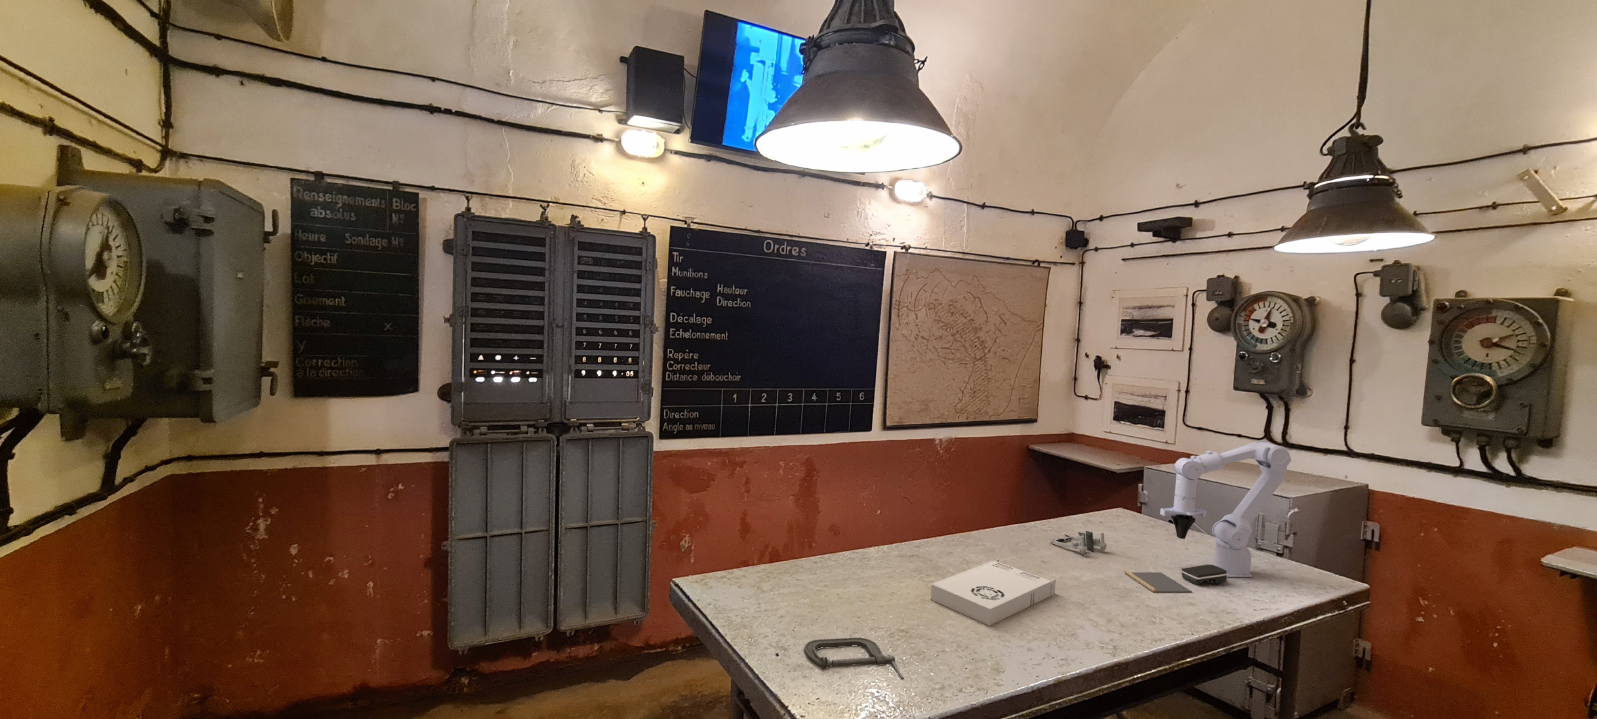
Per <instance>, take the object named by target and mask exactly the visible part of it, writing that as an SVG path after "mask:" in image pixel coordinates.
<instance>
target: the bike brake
mask: <svg viewBox="0 0 1597 719" xmlns="http://www.w3.org/2000/svg"><path fill="white" fill-rule="evenodd" d="M1064 535H1065V537H1063V538H1058V539H1056V540H1055V539H1051V540H1050V542H1049V543H1048V544H1051V545H1053V544H1055V545H1056V546H1059V547H1065V548H1070V549H1073V550H1078V551H1080V553H1081V554H1082V555H1085V554H1087V551H1088V552H1090V551H1091V552H1090V553H1094V552H1095V549H1094V546H1095V547H1099V548H1100V550H1101V551H1103V552H1104V551H1106V549H1107V547H1108V546H1107V543H1106V542H1105V533H1104V532H1100V538H1099V537H1094V534H1093V531H1089V530H1085V532H1082V531H1081V532H1079V531H1078V532H1077V535H1078V537H1077V536H1074V535H1073V536H1072V535H1071V536H1070V535H1067V534H1064ZM1068 542H1071V543H1068Z"/></svg>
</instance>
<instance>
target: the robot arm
mask: <svg viewBox="0 0 1597 719" xmlns="http://www.w3.org/2000/svg"><path fill="white" fill-rule="evenodd" d="M1249 459H1252V460H1254V461H1255V462H1256V463H1257V465H1258V466H1259V468H1260V472H1261V474H1260V476H1259V477H1258V478H1257V480H1256V481H1255V482H1254V484H1253V485H1252V487H1251V488H1250V489H1249V490H1248V491H1247V493H1246V494H1245V496H1244V497H1243V499H1242V500H1241V502H1239V504H1238V505H1237V506H1236V508H1235V509H1234V510H1233V512H1232V513H1230V514H1225V515H1224V516H1223V517H1222V518H1221V519H1220V520H1219V521H1216V522H1215V523H1214V524H1213V525H1212V529H1211V531H1212V535H1213V536H1214V537H1215V547H1214V548H1215V549H1214V559H1213V560H1214V561H1213V565H1215V566H1217V567H1220V568H1222V569H1224V570H1226V571H1227V578H1253V575H1252V574H1251V566H1252V553H1251V550H1250V549H1249V548H1248V547H1247V545H1248V543H1249V541H1250V536H1251V535H1252V534H1253V529H1252V526H1251V525H1252V523H1253V521H1254V520H1255V518H1256V517H1257V516H1258V515H1259V513H1260V512H1261V511H1262V510H1263V508H1264V507H1265V505H1267V502H1269V500H1270V499H1271V498H1272V496H1273V495H1274V493H1275V492H1276V491H1277V489H1278V488H1279V487H1280V485H1281V484H1282V483H1283V481H1284V480H1285V479H1286V474H1287V470H1288V466H1289V464H1290V463H1291V462H1292V457H1291V455H1290V452H1289V450H1288V449H1287V448H1286V447H1284V446H1283V445H1276V444H1273V443H1271V442H1267V441H1265V440H1258V441H1255V442H1254V441H1253V442H1249V443H1248V444H1245V445H1242V446H1239V447H1236V448H1233V449H1231V450H1228V451H1223V452H1221V453H1218V452H1216V451H1211V450H1206V451H1205V453H1203V454H1200V455H1191V456H1190V458H1187V457H1181V458H1179V459H1178V460H1176V462H1175V464H1174V465H1173V466H1172V467H1173V471H1174V472H1175V476H1176V477H1175V487H1174V499H1173V507H1164V508H1160V511H1159V515H1161V516H1163V517H1167V516H1170V518H1171V520H1172V522H1173V524H1174V528H1175V534H1176V537H1177V538H1179V539H1180V540H1186V537H1187V534H1188V532H1189V530H1190V528H1191V527H1192V526H1193V525H1194V523H1195V522H1196V518H1195V517H1202V518H1206V517H1207V510H1205V509H1201V508H1200V509H1199V508H1195V505H1196V497H1197V496H1196V494H1197V485H1198V483H1197V482H1198V479H1199V478H1200V477H1201V476H1202V475H1204V474H1208V473H1211V472H1215V471H1219V470H1222V469H1223V468H1224V466H1225V465H1226V464H1231V463H1236V462H1241V461H1245V460H1246V461H1247V460H1249Z"/></svg>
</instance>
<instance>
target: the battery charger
mask: <svg viewBox="0 0 1597 719" xmlns="http://www.w3.org/2000/svg"><path fill="white" fill-rule="evenodd" d="M1180 572H1181V577H1182V579H1183V580H1185V581H1187V582H1190V583H1192V584H1194V585H1200V584H1201V583H1203V582H1208V583H1210V584H1212V585H1218V584H1223V583H1225V582H1227V579H1228V577H1227V571H1226V570H1224V569H1222V568H1220V567H1217V566H1215V565H1214V564H1202V565H1195V566H1190V567H1182V568H1181V571H1180Z"/></svg>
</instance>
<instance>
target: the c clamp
mask: <svg viewBox="0 0 1597 719" xmlns="http://www.w3.org/2000/svg"><path fill="white" fill-rule="evenodd" d="M852 645H857V646H856V647H859V646H862V647H864V648H865V649H864V648H863V649H864V650H865V651H867V653H869V654H868V655H869V657H858V658H857V657H856V658H841V659H832V660H830V659H829V658H828V657H827V656H821V657H820V656H819V654H818V652H817V651H818V650H819V649H818V648H821V647H835V648H840V647H839V646H850V647H853V646H852ZM862 647H861V648H862ZM803 649H804V652H805V655H806V656H807V657H808V659H809V660H810V661H812V662H813V663H814V664H817V665H819V666H820V667H821V668H822V667H823V668H822V670H823V669H825V670H827V669H828V668H830V667H831V666H832V667H842V666H841V665H845V666H846V665H848V666H853V665H852V664H860V665H861V664H862V665H871V664H872V665H874V664H875V665H877V666H881V665H880V664H884V665H886V664H887V663H888V664H891V665H892V667H893V669H894V671H895V672H896V674H897V673H898V674H897V675H898V678H899V679H900V678H901V679H900V680H905V677H904V676H903V675H902V673H901V671H900V670H899V668H898V667H897V665H896V663H895V662H896V656H895V655H892V654H888V655H887V656H885V655H884V654H883V652H882V650H881V648H880V647H879V645H878V644H877V643H876V642H875V641H873V640H872V639H868V638H864V637H841V638H826V639H825V638H824V639H813V640H810V641H808V642H807V643H806V644H805V645H804V647H803ZM817 649H818V650H817ZM816 650H817V651H816ZM870 656H871V657H870ZM878 664H879V665H878ZM827 667H828V668H827ZM826 668H827V669H826Z"/></svg>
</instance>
